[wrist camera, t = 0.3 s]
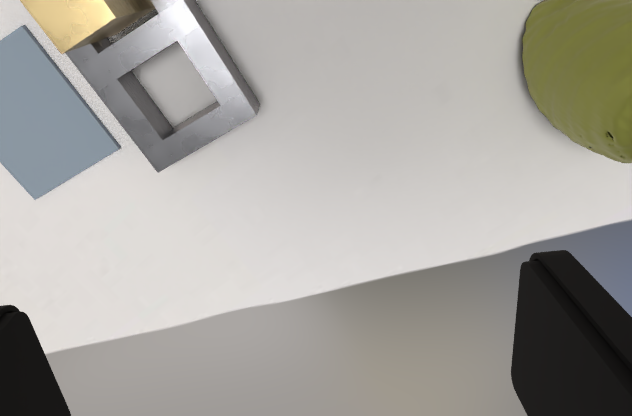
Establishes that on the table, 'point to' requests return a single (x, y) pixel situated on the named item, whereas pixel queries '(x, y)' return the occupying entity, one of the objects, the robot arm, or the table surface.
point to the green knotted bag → (583, 71)
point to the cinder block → (136, 105)
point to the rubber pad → (44, 119)
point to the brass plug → (84, 19)
